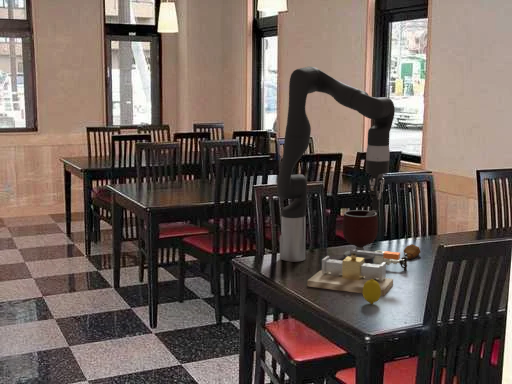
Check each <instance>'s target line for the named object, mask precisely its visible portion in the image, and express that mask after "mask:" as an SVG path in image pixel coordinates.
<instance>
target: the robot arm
mask: <svg viewBox="0 0 512 384" xmlns="http://www.w3.org/2000/svg"><path fill="white" fill-rule="evenodd" d="M288 83H289V85H288V110H287V118H286V119H287V121H286V126H285V134H284V143H283V153H282V159H281V165H280V169H279V172H278V176H277V177H278V178H277V185H276V192H277V196H278V198H280V199H281V200H293V201H292V202H291V203H290V204H288V205H286V206H284V207H282V209H281V234H280V235H279V260H283V261H285V262H291V263H292V262H295V263H297V262H302V261H305V260H306V210H307V201H308V199H307V198H308V181H307V178H306V177H305V175H304V174H302V173H301V174H300V173H299V174H298V173H297V174H292V173H293V171H294V168H295V166H296V164H297V163H298V161H300V159H301V158H302V157H303V155H304V154H305V153H306V151H307V150H308V148H309V145H310V139H311V134H312V133H311V130H312V128H311V123H310V120H309V118H308V115H307V111H306V104H307V97H308V94H313V93H315V92H317V93H323V94H327V95H329V96H331V97H332V98H333V99H334V100H335V102H336V103H338V104H340V105H341V106H343V107H346V108H349V109H350V110H353V111H356V112H357V113H359V114H360V115H362V116H363V117H365V118H367V119H369V120H373V121H374V122H373V126H371V127H370V128H368V132H367V146H366V147H367V148H366V153H365V154H366V155H365V159H366V160H365V172H366V174H369V175H371V176H370V178H369V184H368V186H367V188H368V193H369V197H370V199H371V200H372V201H371V202H372V203H371V211H372V210H376V212H378V211H379V210H380V205H381V204H380V203H381V199H382V196H383V192H384V188H385V183H386V181H385V178H384V175H386V174H389V172H390V154H391V153H390V152H391V151H390V133H391V129H392V126H393V122H394V118H395V113H396V111H395V110H396V108H395V104H394V101H392V99H391V98H390V97H385V96H384V97H383V96H382V97H374V96H371V95H369V93H368V92H366V91H365V90H363V89H360V88H357V87H355V86H351V85H349V84H347V83H345V82H342V81H340V80H338V79H336V78H334V77H333V76H331V75H329V74H328V73H326V72H325V71H322V70H321V69H319V68H317V67H316V66H306V67H300V68H296V69H295V70H293V71H292V73H291V74H290V76H289V82H288Z"/></svg>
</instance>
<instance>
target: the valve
mask: <svg viewBox="0 0 512 384" xmlns="http://www.w3.org/2000/svg"><path fill="white" fill-rule="evenodd" d="M374 252H380V253H384V252H385V251H383V250H375V251H374ZM403 255H404V256H403V257H401V258H400V259H399V260H394V259H385V258H383V256H375V257H374V258H373V264H378V265H381V264H382V263H383V262H386V266H390V265H397V264H399V265H400V267H401V268H402V269H403V272H407V270H408V260H409V259H407V257H408V254H407V253H405V254H404V253H403Z"/></svg>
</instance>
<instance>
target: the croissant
mask: <svg viewBox="0 0 512 384" xmlns="http://www.w3.org/2000/svg"><path fill="white" fill-rule="evenodd" d="M405 253H407V254H408V257H407V259H408V260H413V259H415V258H417V257H418V256H419V255H420V254H421V253H422V252H421V248H420V247H419V246H417V245H415V244H409V245H406V246H405V247H404V249H403V255H404V254H405Z"/></svg>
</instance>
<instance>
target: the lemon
mask: <svg viewBox="0 0 512 384" xmlns="http://www.w3.org/2000/svg"><path fill="white" fill-rule="evenodd" d="M380 295H381V288H380V285H379V283H378V282H377V281H375V280H373V279H371V280H368V281H367V282H366V283H365V284H364V286H363V293H362V296H363V299H364V300H365V301H366V302H367V303H369V304H371V305H373V304H374V303H376V302H377V301H379V299H380V297H381V296H380Z"/></svg>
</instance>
